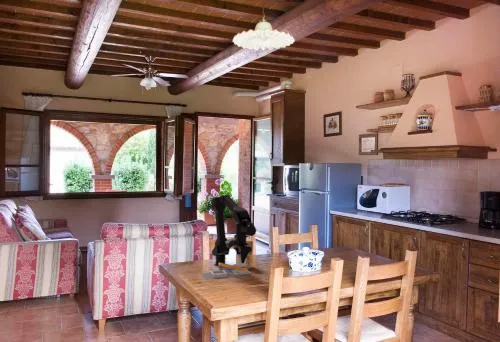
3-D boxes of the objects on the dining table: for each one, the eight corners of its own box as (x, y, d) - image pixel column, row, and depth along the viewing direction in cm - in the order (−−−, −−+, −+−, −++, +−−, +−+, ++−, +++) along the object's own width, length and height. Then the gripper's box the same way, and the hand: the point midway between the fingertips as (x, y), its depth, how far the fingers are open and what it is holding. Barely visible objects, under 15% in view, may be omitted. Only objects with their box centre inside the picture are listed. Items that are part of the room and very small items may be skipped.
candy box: (250, 265, 250) (250, 239, 249) (252, 267, 246) (253, 240, 245) (235, 266, 247) (236, 240, 246) (238, 268, 243) (238, 241, 242)
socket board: (200, 275, 228) (200, 267, 228) (246, 271, 237) (246, 263, 237) (205, 282, 216) (205, 273, 216) (254, 277, 225) (254, 269, 225)
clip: (217, 265, 231) (217, 263, 231) (220, 264, 232) (220, 262, 232) (245, 271, 219) (245, 268, 219) (247, 270, 221) (247, 267, 221)
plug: (232, 270, 233) (232, 254, 233) (245, 269, 236) (245, 253, 236) (236, 273, 227) (236, 256, 226) (249, 272, 229) (249, 256, 229)
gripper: (221, 231, 237) (221, 259, 237) (231, 237, 219) (231, 267, 220) (241, 230, 240) (241, 257, 241) (252, 235, 223) (252, 265, 223)
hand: (241, 262), depth 231 cm, fingers open, 5 cm apart
